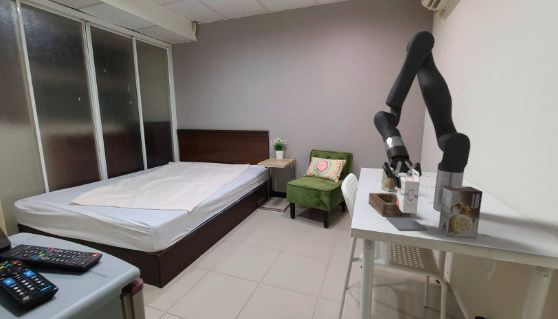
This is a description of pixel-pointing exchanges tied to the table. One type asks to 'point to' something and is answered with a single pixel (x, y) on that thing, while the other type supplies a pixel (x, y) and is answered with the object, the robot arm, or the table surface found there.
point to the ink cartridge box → (408, 193)
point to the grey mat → (406, 224)
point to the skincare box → (388, 182)
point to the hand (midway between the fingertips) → (408, 187)
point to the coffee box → (460, 211)
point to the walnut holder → (385, 204)
